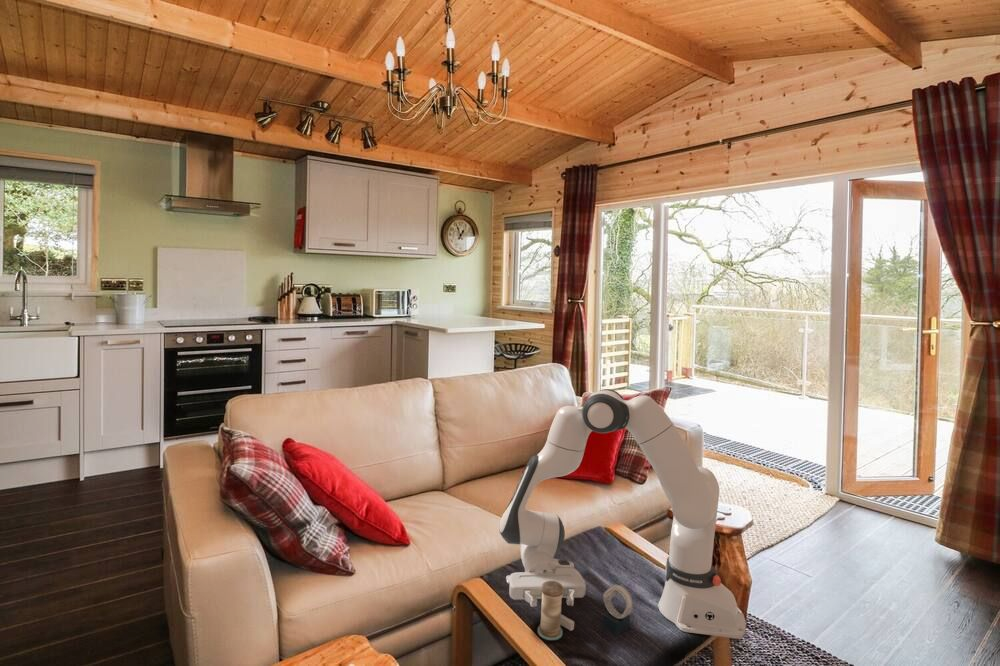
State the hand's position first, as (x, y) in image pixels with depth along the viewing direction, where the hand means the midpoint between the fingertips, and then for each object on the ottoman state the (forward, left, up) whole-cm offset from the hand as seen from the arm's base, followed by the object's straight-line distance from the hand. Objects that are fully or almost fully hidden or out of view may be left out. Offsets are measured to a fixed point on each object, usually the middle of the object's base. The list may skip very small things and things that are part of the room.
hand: (552, 603), depth 143 cm
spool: (0, -1, -8) cm, 8 cm away
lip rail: (-2, -5, -8) cm, 10 cm away
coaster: (0, -1, -8) cm, 8 cm away
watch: (-15, -10, -9) cm, 20 cm away
